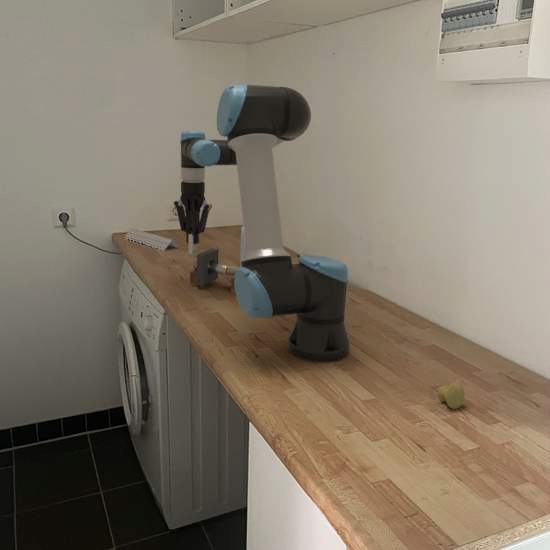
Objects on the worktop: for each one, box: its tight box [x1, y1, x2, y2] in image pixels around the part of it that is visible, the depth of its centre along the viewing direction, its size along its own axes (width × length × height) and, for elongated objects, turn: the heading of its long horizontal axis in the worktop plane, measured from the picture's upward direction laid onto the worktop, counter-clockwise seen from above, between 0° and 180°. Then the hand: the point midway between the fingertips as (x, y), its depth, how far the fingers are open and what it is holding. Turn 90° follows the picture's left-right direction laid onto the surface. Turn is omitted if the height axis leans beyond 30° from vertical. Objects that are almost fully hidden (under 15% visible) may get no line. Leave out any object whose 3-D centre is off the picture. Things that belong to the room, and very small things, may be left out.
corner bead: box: [123, 227, 180, 252], centre depth 244 cm, size 29×9×5 cm, turn 48°
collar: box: [196, 248, 219, 287], centre depth 187 cm, size 2×10×10 cm, turn 157°
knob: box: [437, 382, 465, 410], centre depth 117 cm, size 5×5×5 cm
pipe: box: [192, 260, 241, 277], centre depth 186 cm, size 18×3×3 cm, turn 67°
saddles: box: [189, 269, 236, 295], centre depth 187 cm, size 18×7×5 cm, turn 67°
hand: (192, 253), depth 189 cm, fingers closed
